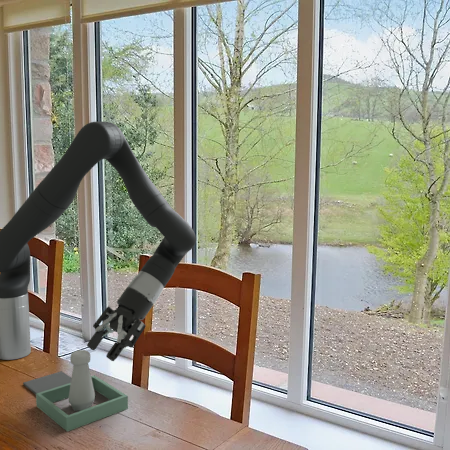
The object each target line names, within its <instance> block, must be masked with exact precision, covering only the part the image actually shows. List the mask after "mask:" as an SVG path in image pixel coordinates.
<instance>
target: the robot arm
mask: <svg viewBox="0 0 450 450" xmlns="http://www.w3.org/2000/svg"><path fill="white" fill-rule="evenodd" d="M102 160H105V161H107V163H109V164H110V165H111V166H112V167H113V168H114V169H115V170H116V172H117V173H118V175H119V176H120V178H121V180H122V182H123V183H124V186H125V188H126V191H127V194H128V197H129V199H130V200H131V202H132V204H133V205H134V207H135V208H136V210H137V211H138V212H139V213H140V215H141V217H142V218H143V219H144V220H145V221H146V223H148V225H149V226H151V227H152V228H156V229H157V230H158V232H160V233H161V235H162V236H163V238H162V239H161V242H160V243H159V244H158V246H157V248H156V249H155V251H154V252H153V254H152V255H151V256H150V257H149V258H148V260H147V261H146V262H145V264H143V266H142V267H141V269H140V270H139V272H138V273H137V274H136V275H135V276H134V277H133V278H132V279H131V281H130V282H129V284H128V285H127V286H126V288H125V290H124V291H123V292H122V294H121V295H119V296H120V297H119V298H118V299H117V305H118V306H117V307H116V309H113V308H112V307H111V306H107V307H106V308H105V309H104V311H103V312H102V314H101V315H99V317H98V319H96V321H95V323H93V325H92V327H93V328H94V329H95V330H94V331H95V332H94V334H93V335H92V336H91V338H90V340H89V341H88V343H87V344H86V346H87V348H89V349H90V350H92V351H95V350H96V349H97V348H98V346H99V345H100V343H101V342H102V341H103V339H104V337H105V336H107V335H108V334H113V333H117V339H116V341H115V342H114V343H113V344H112V346H111V347H110V349H109V350H108V352H107V354H106V358H107V359H108V360H109V361H111V362H115V361H116V360H117V358H118V357H119V356H120V354H121V353H122V351H123V350H124V349H125V348H127V347H129V348H133V347H134V346H135V344H136V343H137V341H138V340H139V338H140V336H141V335H142V333H143V332H144V330H145V329H146V324H145V323H144V322H143V321H144V319H145V318H146V316H147V315H148V314H149V312H150V311H151V309H152V308H153V306H154V305H155V304H156V302H157V301H158V299H159V297H160V296H161V294H162V292H163V290H164V289H165V287H166V286H167V284H168V283H169V281H170V280H171V279H172V277H173V275H174V274H175V270H176V268H177V267H178V266H179V265H180V262H181V261H182V260H183V258H184V257H185V256H186V254H187V253H189V252H190V251H191V250H192V249H193V248H194V246H195V245H196V241H197V237H196V234H195V231H194V229H193V227H192V226H191V225H190V224H189V222H187V220H186V219H184V218H183V217H182V216H181V215H180V214H179V213H178V212H177V211H175V210H174V208H172V207H171V205H170V204H169V202H168V201H167V200H166V199H165V197H164V195H162V193H161V192H160V190H159V189H158V188H157V186H156V185H155V183H153V181H152V180H151V178H150V177H149V176H148V174H147V172H146V171H145V170H144V168H143V166H142V165H141V163H140V162H139V160H138V159H137V157H136V154H135V153H134V152H133V149H132V148H131V145H130V144H129V142H128V139H126V136H125V135H124V133H123V131H122V130H121V129H120V128H119V126H117V125H116V124H115V123H113V122H109V121H91V122H88V123H86V124H85V125H83V126H82V127H81V129H79V130H78V132H77V134H76V136H75V137H74V139H73V140H72V141H71V143H70V145H69V147H68V148H67V149H66V151H65V152H64V153H63V156H62V157H61V158H60V159H59V160H58V162H57V163H56V164H55V165H54V166H53V167H52V169H51V170H50V171H48V173H47V174H46V176H45V177H44V178H43V179H42V180H41V181H40V182H39V184H38V185H37V186H36V187H35V189H34V190H33V191H32V192H31V193H30V194H29V196H28V197H27V198H26V200H25V201H24V202H23V203H22V205H21V206H20V207H19V209H18V210H17V211H16V212H15V213H14V215H13V216H12V217H11V219H10V220H9V221H8V222H7V223H6V224H5V225H4V226H3V227H2V228H1V229H0V360H2V361H3V360H7V361H9V360H17V359H22V358H25V357H27V356H28V355H29V354H31V352H32V349H31V328H30V327H31V325H30V323H31V322H30V307H29V304H30V303H29V291H28V289H29V285H30V282H31V251H30V247H29V246H30V245H29V244H28V243H29V242H30V241H31V240H32V239H33V238H35V237H36V236H37V235H39V234H40V233H42V232H43V231H45V230H46V229H47V228H48V227H50V226H51V225H53V224H54V223H55V222H56V221H57V220H59V218H60V217H61V216H62V215H63V214H64V213H65V211H67V209H68V208H69V207H70V206H71V204H72V202H73V201H74V200H75V197H76V196H77V192H78V190H79V187H80V185H81V182H82V181H83V179H84V178H85V177H86V175H87V174H88V173H89V172H90V171H91V170H92V169H93V168H94V167H95V166H96V165H97V164H98V163H100V162H101V161H102ZM132 336H133V337H132ZM131 337H132V338H131Z"/></svg>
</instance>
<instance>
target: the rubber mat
mask: <svg viewBox="0 0 450 450" xmlns="http://www.w3.org/2000/svg"><path fill="white" fill-rule="evenodd" d="M71 378H72V376H70V375H68V374H67V373H65V372H64V371H62V370H61V371H57V372H54V373H51V374H48V375H45V376H44V375H43V376H40V377H37V378H34V379H31V380H30V379H29V380H27V381H24V382H23V383H22V384H23V386H24V387H25V388H27V389H28V390H29V391H30V392H32V393H33V394H34V395H35V396H36V394H37V393H40V392H43V391H46V390H50V389H53V388H56V387H59V386H62V385H65V384H69V383H71Z"/></svg>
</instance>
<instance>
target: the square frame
mask: <svg viewBox="0 0 450 450" xmlns="http://www.w3.org/2000/svg"><path fill="white" fill-rule="evenodd" d="M91 379H92V383H93V388H94V391H96V392H97V393H99V394H100V395H101V396H103V397H105V398H106V399H108V400H106V401H105V402H101V403H99V404H96V405H92V406H91V407H90V408H87V409H84V410H82V411H79V412H77V411H75V412H74V413H70V414H68V413H66V412H65V411H64V410H62V409H61V408H60V407H58V406H57V405H56V404H55V403H56V402H60V401H62V400H66V399H68V398H69V391H70V385H71V383H69V384H65V385H62V386H59V387H56V388H53V389H50V390H46V391H43V392H40V393H37V394H36V395H35V399H36V401H35V402H36V403H35V404H36V407H37V408H38V409H39V410H41V411H42V412H43V413H44V414H45V415H46V416H48V418H50V419H51V420H52V421H54V423H56V424H57V425H59V427H61V428H62V429H63V430H64V431H66V432H69V431H73V430H76V429H77V428H80V427H84V426H87V425H88V424H92V423H94V422H96V421H99V420H102V419H104V418H107V417H109V416H112V415H115V414H118V413H121V412H123V411H126V410H128V409H129V397H128V395H127V394H126V393H124V392H122V391H121V390H119V389H117V388H116V387H114V386H112V385H111V384H109V383H108V382H106V381H104V380H103V379H101V378H100V377H98V376H96V375H91Z"/></svg>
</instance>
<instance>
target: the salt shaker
mask: <svg viewBox="0 0 450 450" xmlns="http://www.w3.org/2000/svg"><path fill="white" fill-rule="evenodd" d="M69 360H70V363H71V364H72V365H73V366H72V371H71V385H70V391H69V398H67V399H68V403H69V405H70V406H71V408H72V410H73V411H74V412H79V411H82V410H84V409H87V408H90V407H93V404H94V402H95V398H96V397H95V396H96V392H95V390H94V388H93V383H92V379H91V376H92V375H91V370H90V365H89V363H90V362H91V353H90V352H89V351H87V349H86V350H85V349H79V350H75V351H73V352H72V353H70V359H69Z"/></svg>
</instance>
